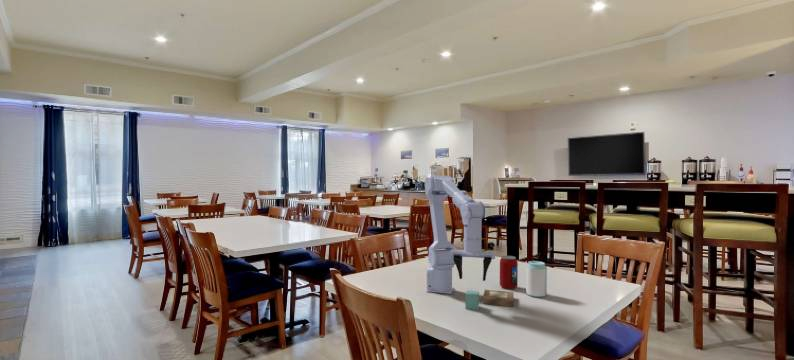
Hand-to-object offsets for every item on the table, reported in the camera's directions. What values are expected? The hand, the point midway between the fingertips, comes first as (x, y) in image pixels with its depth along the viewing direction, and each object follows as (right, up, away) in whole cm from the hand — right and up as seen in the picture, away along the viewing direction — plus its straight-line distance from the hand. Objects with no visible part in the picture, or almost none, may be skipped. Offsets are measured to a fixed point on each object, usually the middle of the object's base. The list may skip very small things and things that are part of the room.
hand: (472, 279), depth 128 cm
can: (+26, -10, +14) cm, 31 cm away
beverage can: (+19, -10, +23) cm, 31 cm away
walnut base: (+11, -9, +7) cm, 16 cm away
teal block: (0, -10, 0) cm, 10 cm away
